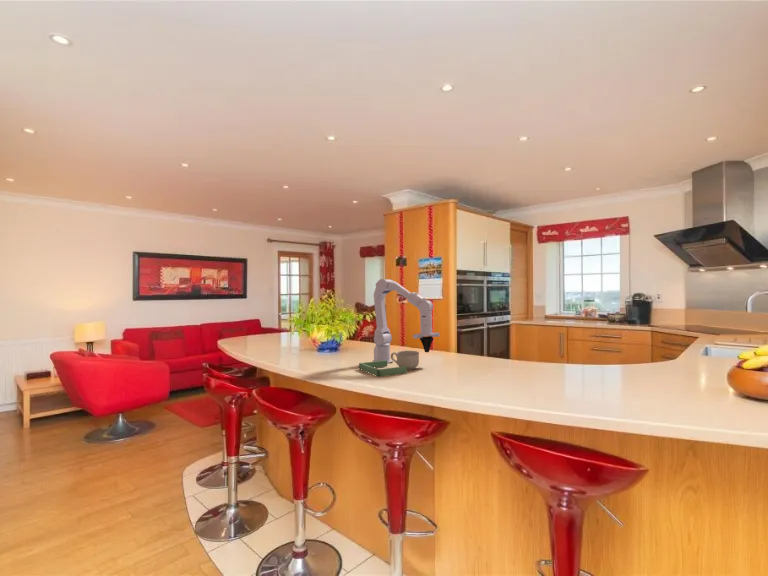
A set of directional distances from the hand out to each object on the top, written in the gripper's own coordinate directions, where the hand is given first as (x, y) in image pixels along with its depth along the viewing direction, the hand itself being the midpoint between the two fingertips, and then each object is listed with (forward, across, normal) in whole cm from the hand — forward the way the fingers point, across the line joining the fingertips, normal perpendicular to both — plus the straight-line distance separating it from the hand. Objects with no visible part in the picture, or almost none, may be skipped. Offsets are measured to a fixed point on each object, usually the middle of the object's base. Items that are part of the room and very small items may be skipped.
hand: (426, 352), depth 191 cm
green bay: (+7, -25, 0) cm, 26 cm away
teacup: (+7, -13, 0) cm, 15 cm away
